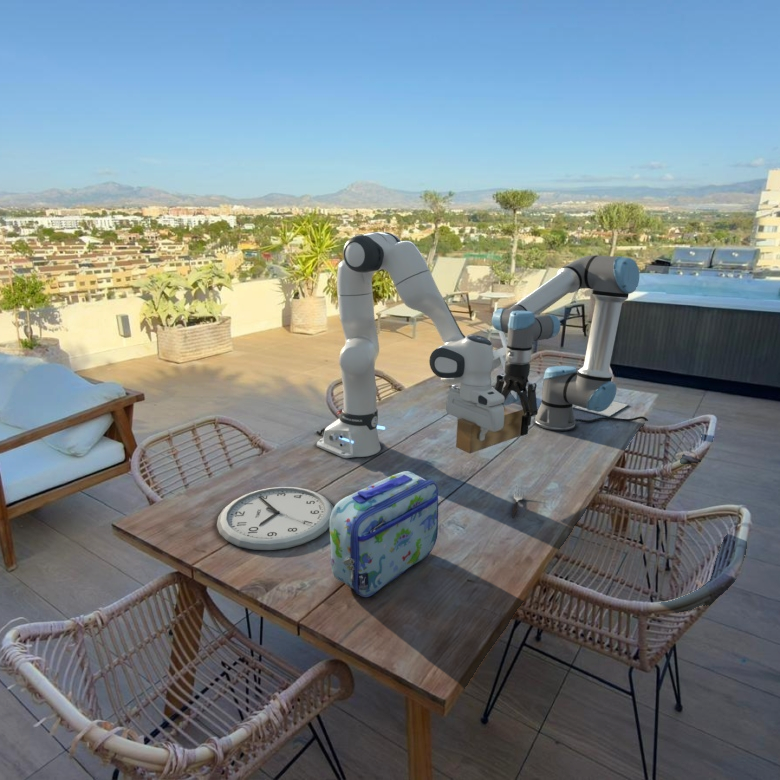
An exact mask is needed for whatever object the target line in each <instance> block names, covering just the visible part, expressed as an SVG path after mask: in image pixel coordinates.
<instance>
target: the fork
mask: <svg viewBox="0 0 780 780" xmlns="http://www.w3.org/2000/svg"><path fill="white" fill-rule="evenodd" d="M517 487H518V486H516V487H515V490H514V494H513V499H514V500H515V503H514V505H513V507H512V516H511V517H512V519H514V518H515V515H516V513H517V511H518V508H519V507H518V506H519V505H518V504H519V501H522V500H523V499H524V495H525V494H524V493H525V488H523V490H522V486H521V487H518V488H517Z"/></svg>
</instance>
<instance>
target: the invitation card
mask: <svg viewBox="0 0 780 780" xmlns="http://www.w3.org/2000/svg"><path fill="white" fill-rule="evenodd" d="M628 406H629V404H627V403H623V402H618V401H614V400H613V402H612V403H611V405H610V406H609V407H608V408H607V409H605V410H604V411H601V412H596V411H593V410H588V409H586V408H583V407H579V406H576V405H575V406H574V407H573V409H575V410H581V411H584V412H587V413H593V414H596V415H600V416H603V417H612V416H613V415H614V414H616V413H617V412H619V411H621V410H623V409H624V408H626V407H628Z"/></svg>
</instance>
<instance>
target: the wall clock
mask: <svg viewBox="0 0 780 780" xmlns="http://www.w3.org/2000/svg"><path fill="white" fill-rule="evenodd" d="M333 508H334V505H333V504H332V503H331V502H330V500H329V499H328V498H327V497H325V496H323V495H322V494H321V493H319V492H316V491H313V490H311V489H307V488H302V487H296V486H279V487H278V486H277V487H267V488H263V489H258V490H255V491H251V492H249V493H246V494H243V495H242V496H240V497H238V498H235V499H234V500H232V501H231V502H230V503H228V505H226V506H225V507H223V509H222V510H221V512H220V514H219V515H218V517H217V521H216V529H217V531H218V533H219V535H220V536H221V537H222V538H223V539H224V540H225V541H226V542H227V543H230V544H233V545H235V546H236V547H239V548H244V549H249V550H257V551H274V550H285V549H289V548H292V547H297V546H301V545H304V544H306V543H308V542H310V541H312V540H315V539H317V538H318V537H319V536H321V535H323V534H324V533H325V532H326V531H328V529H330V516H331V513H332V510H333Z"/></svg>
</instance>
